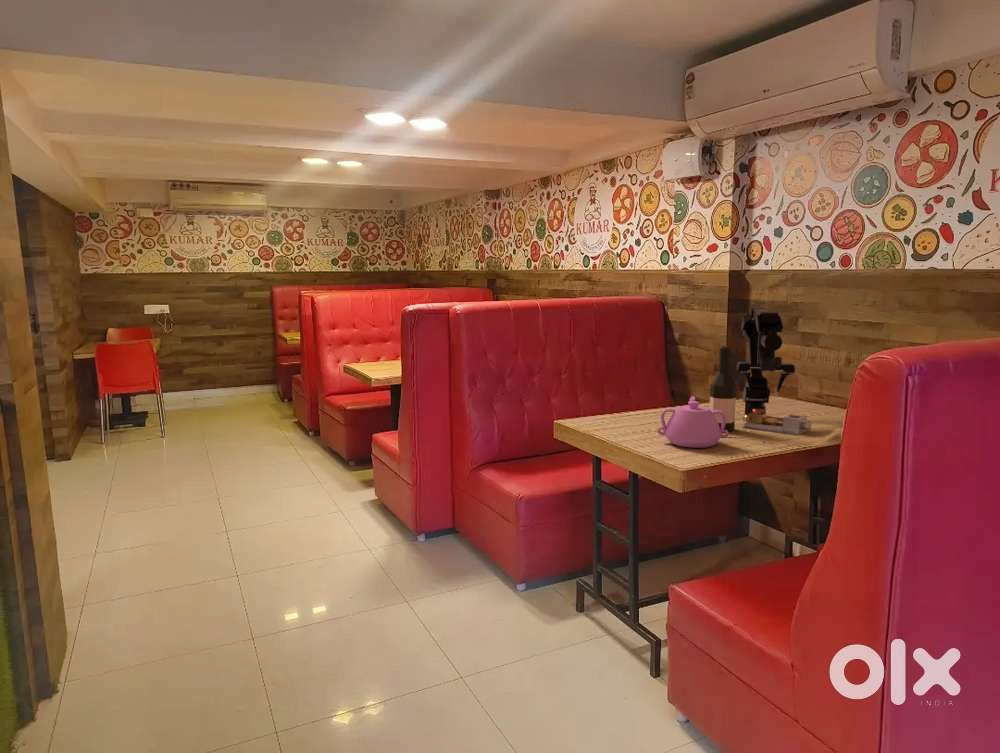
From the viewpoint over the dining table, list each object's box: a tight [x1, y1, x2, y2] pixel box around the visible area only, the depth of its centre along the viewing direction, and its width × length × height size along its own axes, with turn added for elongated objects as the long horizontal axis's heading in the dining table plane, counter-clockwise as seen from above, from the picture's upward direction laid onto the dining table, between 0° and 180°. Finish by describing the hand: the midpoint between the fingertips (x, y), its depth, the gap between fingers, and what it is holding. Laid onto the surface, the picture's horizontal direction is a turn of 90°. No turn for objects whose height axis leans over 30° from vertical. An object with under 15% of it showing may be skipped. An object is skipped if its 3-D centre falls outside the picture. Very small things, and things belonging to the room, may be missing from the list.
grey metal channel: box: [740, 413, 812, 437], centre depth 232 cm, size 21×12×6 cm, turn 50°
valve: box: [742, 409, 778, 426], centre depth 235 cm, size 11×5×6 cm, turn 49°
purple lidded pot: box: [657, 395, 730, 449], centre depth 218 cm, size 22×22×14 cm
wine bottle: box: [709, 345, 737, 433], centre depth 229 cm, size 8×8×30 cm
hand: (764, 391), depth 239 cm, fingers open, 9 cm apart
